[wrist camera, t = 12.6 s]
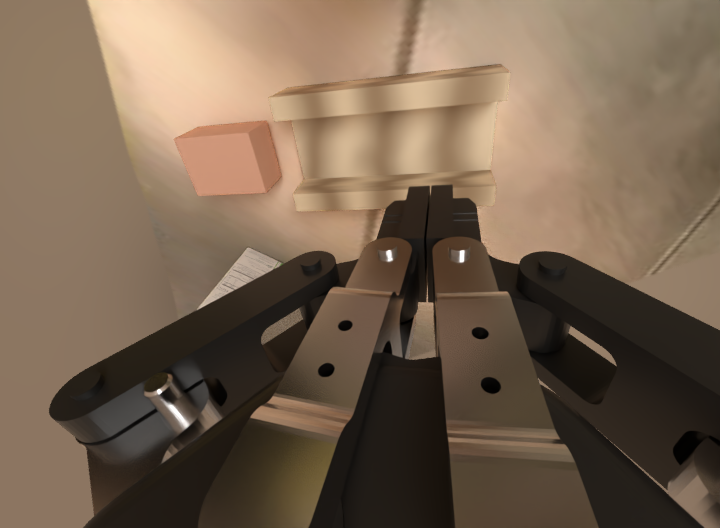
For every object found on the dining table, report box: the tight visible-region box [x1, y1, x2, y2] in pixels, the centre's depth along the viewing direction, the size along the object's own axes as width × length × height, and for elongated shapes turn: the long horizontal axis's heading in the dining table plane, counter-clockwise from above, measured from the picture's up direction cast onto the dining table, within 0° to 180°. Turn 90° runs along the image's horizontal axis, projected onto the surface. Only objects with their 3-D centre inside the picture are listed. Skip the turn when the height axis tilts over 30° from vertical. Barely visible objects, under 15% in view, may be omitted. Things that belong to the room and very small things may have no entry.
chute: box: [268, 64, 511, 212], centre depth 33 cm, size 20×11×5 cm, turn 97°
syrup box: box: [197, 247, 283, 310], centre depth 43 cm, size 6×6×14 cm
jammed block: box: [174, 121, 281, 196], centre depth 35 cm, size 8×6×4 cm
